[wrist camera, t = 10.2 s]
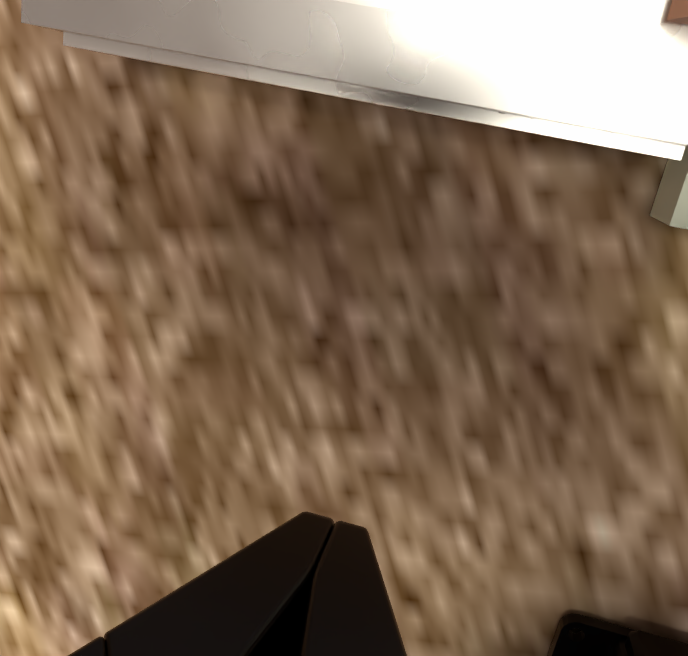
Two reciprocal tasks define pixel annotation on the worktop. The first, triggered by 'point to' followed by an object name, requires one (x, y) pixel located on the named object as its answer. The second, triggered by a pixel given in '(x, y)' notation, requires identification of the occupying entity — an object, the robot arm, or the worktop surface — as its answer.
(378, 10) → the channel
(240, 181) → the worktop surface
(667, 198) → the tray
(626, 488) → the worktop surface
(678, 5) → the reddish-brown angular block
